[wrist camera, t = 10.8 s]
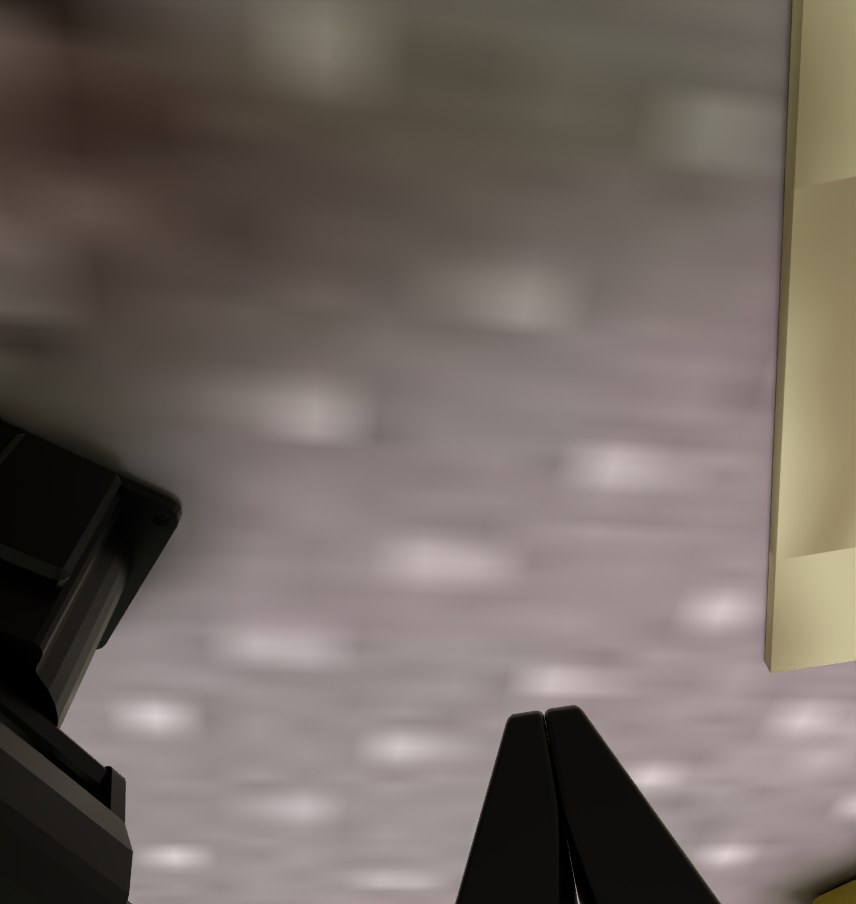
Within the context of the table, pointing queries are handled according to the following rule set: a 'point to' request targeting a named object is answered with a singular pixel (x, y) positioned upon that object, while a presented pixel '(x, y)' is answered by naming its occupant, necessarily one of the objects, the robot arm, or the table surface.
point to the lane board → (816, 353)
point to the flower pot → (839, 895)
